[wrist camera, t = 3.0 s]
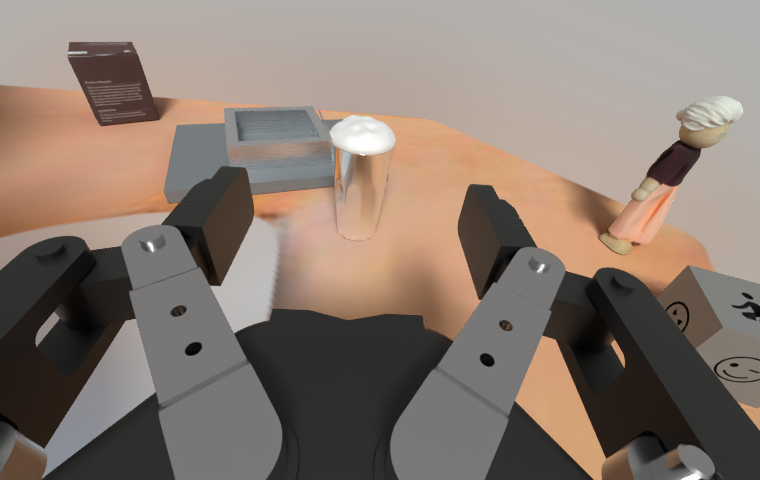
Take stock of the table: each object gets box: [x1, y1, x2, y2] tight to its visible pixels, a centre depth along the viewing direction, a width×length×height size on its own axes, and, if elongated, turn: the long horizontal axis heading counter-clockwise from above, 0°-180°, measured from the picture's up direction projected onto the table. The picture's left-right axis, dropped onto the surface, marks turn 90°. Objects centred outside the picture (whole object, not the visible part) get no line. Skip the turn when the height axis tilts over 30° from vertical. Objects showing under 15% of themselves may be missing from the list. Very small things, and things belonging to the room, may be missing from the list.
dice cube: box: [656, 265, 760, 408], centre depth 20 cm, size 5×5×5 cm
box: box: [68, 42, 159, 126], centre depth 38 cm, size 6×6×7 cm
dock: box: [164, 107, 389, 203], centre depth 35 cm, size 20×14×4 cm
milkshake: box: [318, 110, 396, 241], centre depth 25 cm, size 5×5×10 cm
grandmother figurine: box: [599, 96, 744, 255], centre depth 27 cm, size 8×4×13 cm, turn 139°
